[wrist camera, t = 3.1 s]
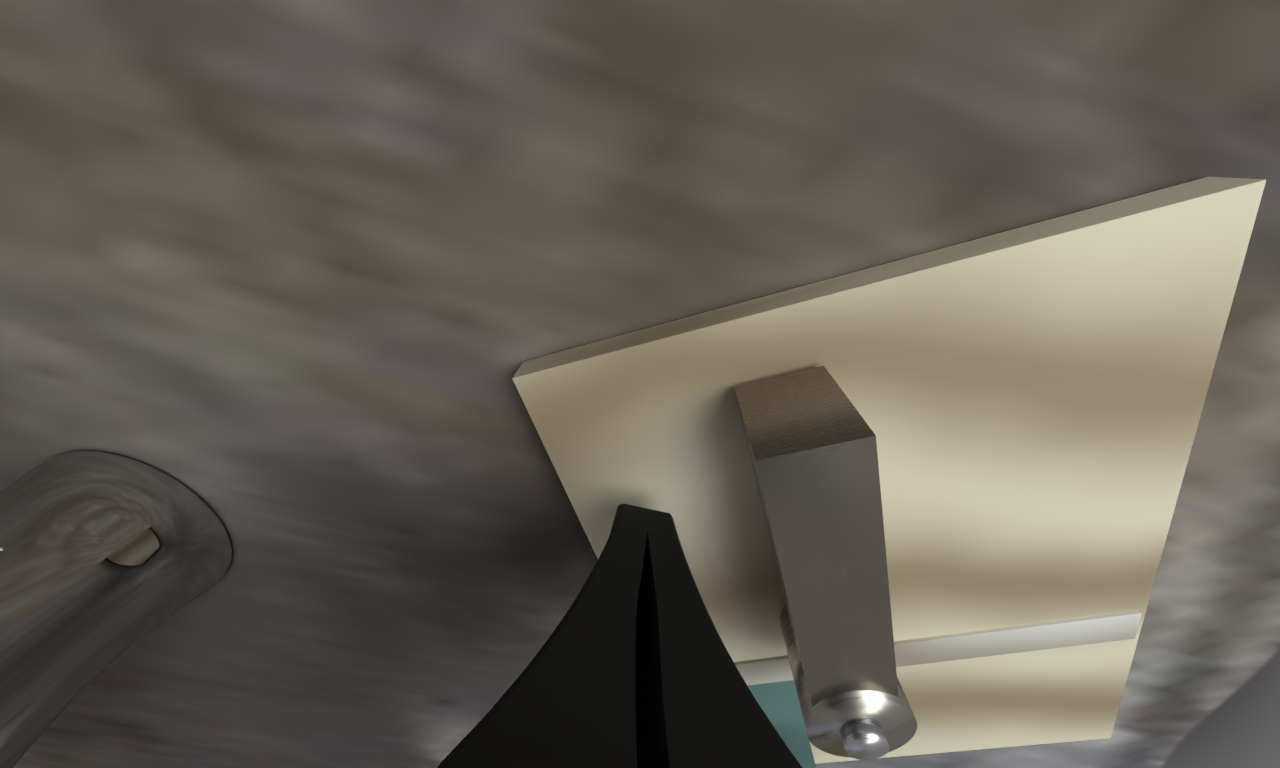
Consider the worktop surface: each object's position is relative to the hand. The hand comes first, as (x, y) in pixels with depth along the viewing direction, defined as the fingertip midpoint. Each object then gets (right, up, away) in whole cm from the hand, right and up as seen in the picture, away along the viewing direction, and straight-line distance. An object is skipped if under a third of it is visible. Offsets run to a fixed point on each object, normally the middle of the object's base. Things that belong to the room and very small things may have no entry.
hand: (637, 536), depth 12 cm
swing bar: (+5, 0, +1) cm, 5 cm away
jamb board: (+7, -2, +3) cm, 8 cm away
